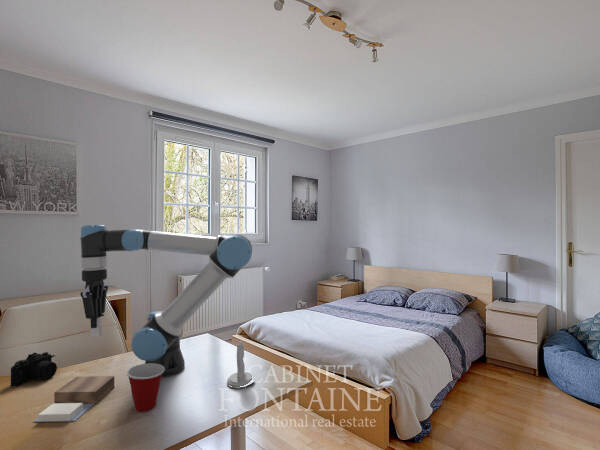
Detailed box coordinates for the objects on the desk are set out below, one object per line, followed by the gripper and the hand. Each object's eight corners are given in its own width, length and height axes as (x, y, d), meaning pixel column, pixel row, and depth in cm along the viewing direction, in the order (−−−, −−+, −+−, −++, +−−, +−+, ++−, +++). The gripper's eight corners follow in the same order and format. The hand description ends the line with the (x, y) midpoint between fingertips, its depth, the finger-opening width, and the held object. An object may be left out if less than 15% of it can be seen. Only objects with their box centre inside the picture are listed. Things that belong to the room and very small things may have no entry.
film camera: (27, 389, 116) (27, 364, 116) (6, 387, 118) (6, 361, 118) (67, 371, 131) (66, 348, 131) (47, 369, 133) (47, 346, 133)
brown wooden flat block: (114, 387, 117) (114, 376, 117) (96, 404, 106) (95, 391, 106) (76, 388, 117) (76, 376, 117) (54, 404, 106) (54, 392, 106)
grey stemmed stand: (256, 375, 125) (256, 336, 125) (251, 388, 115) (251, 345, 115) (230, 375, 126) (230, 336, 126) (223, 388, 116) (223, 345, 116)
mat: (93, 404, 106) (93, 403, 106) (75, 421, 97) (75, 420, 97) (55, 405, 105) (55, 404, 105) (33, 422, 96) (33, 421, 96)
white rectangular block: (69, 413, 96) (69, 420, 96) (82, 402, 102) (82, 409, 102) (38, 414, 96) (38, 421, 96) (53, 403, 102) (53, 410, 102)
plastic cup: (161, 414, 100) (161, 374, 100) (122, 419, 97) (122, 378, 97) (167, 396, 110) (167, 360, 110) (132, 400, 108) (132, 363, 108)
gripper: (94, 266, 122) (95, 330, 122) (71, 271, 109) (73, 343, 109) (114, 266, 123) (116, 330, 123) (94, 271, 110) (96, 342, 110)
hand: (96, 336), depth 116 cm, fingers closed
